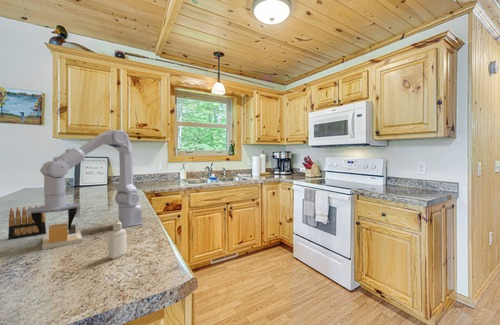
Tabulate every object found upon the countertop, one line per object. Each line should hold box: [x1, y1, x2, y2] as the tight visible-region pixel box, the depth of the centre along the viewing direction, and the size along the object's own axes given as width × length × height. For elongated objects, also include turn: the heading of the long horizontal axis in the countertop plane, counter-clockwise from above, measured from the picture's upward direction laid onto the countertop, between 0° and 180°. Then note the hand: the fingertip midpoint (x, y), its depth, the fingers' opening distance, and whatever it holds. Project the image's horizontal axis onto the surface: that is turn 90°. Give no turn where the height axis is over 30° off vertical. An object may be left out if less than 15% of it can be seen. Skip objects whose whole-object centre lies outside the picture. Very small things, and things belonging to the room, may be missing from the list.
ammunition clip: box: [7, 204, 47, 241], centre depth 90 cm, size 11×2×12 cm, turn 129°
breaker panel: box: [41, 229, 83, 251], centre depth 86 cm, size 11×13×2 cm
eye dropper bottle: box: [107, 218, 128, 260], centre depth 73 cm, size 4×6×12 cm
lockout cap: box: [48, 222, 68, 244], centre depth 82 cm, size 5×6×5 cm
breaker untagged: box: [68, 224, 77, 234], centre depth 90 cm, size 2×3×3 cm, turn 40°
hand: (55, 231), depth 82 cm, fingers open, 7 cm apart
